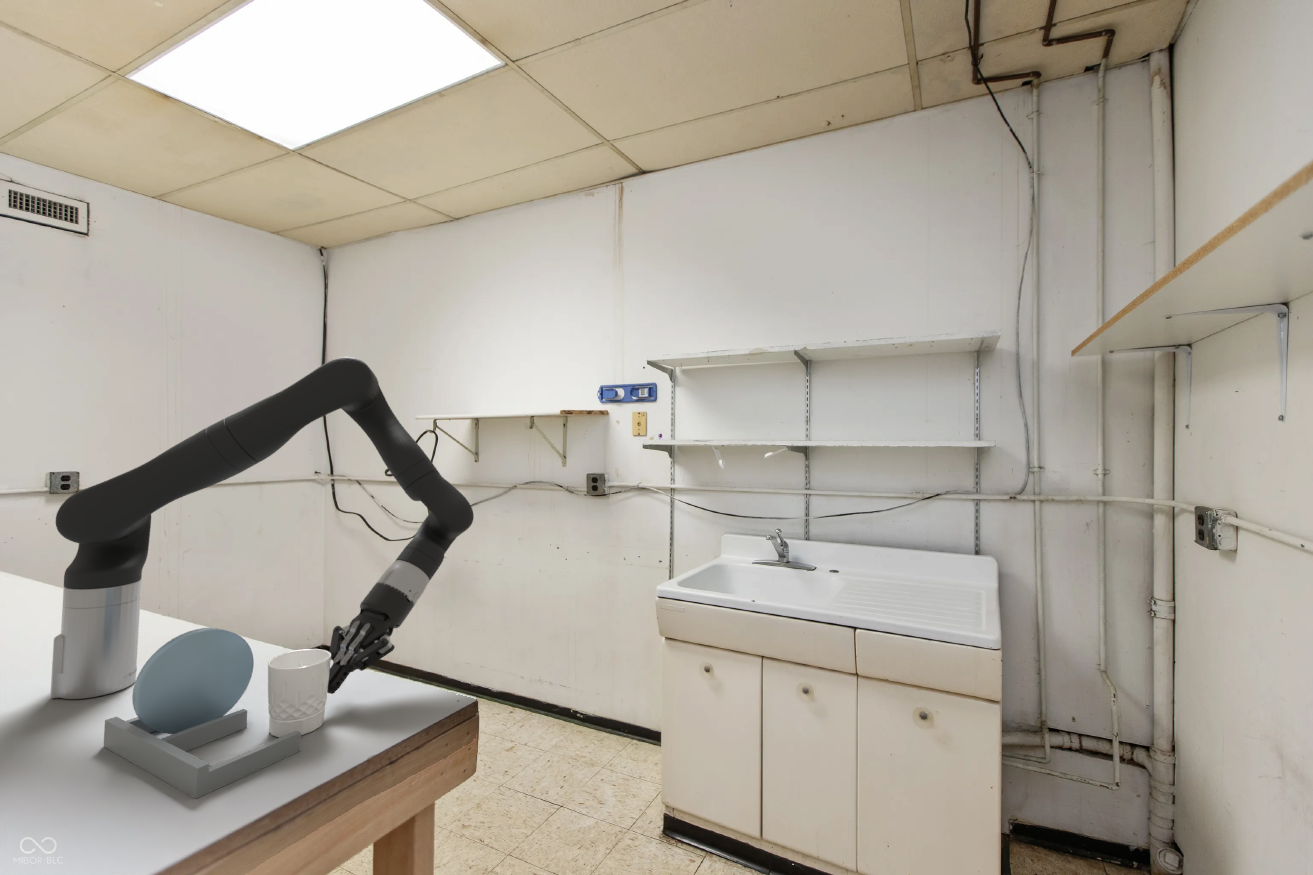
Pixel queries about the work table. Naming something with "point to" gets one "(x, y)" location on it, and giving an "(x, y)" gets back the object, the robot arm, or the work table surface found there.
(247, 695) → the work table surface
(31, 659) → the work table surface
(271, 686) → the white cup
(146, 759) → the dish rack
